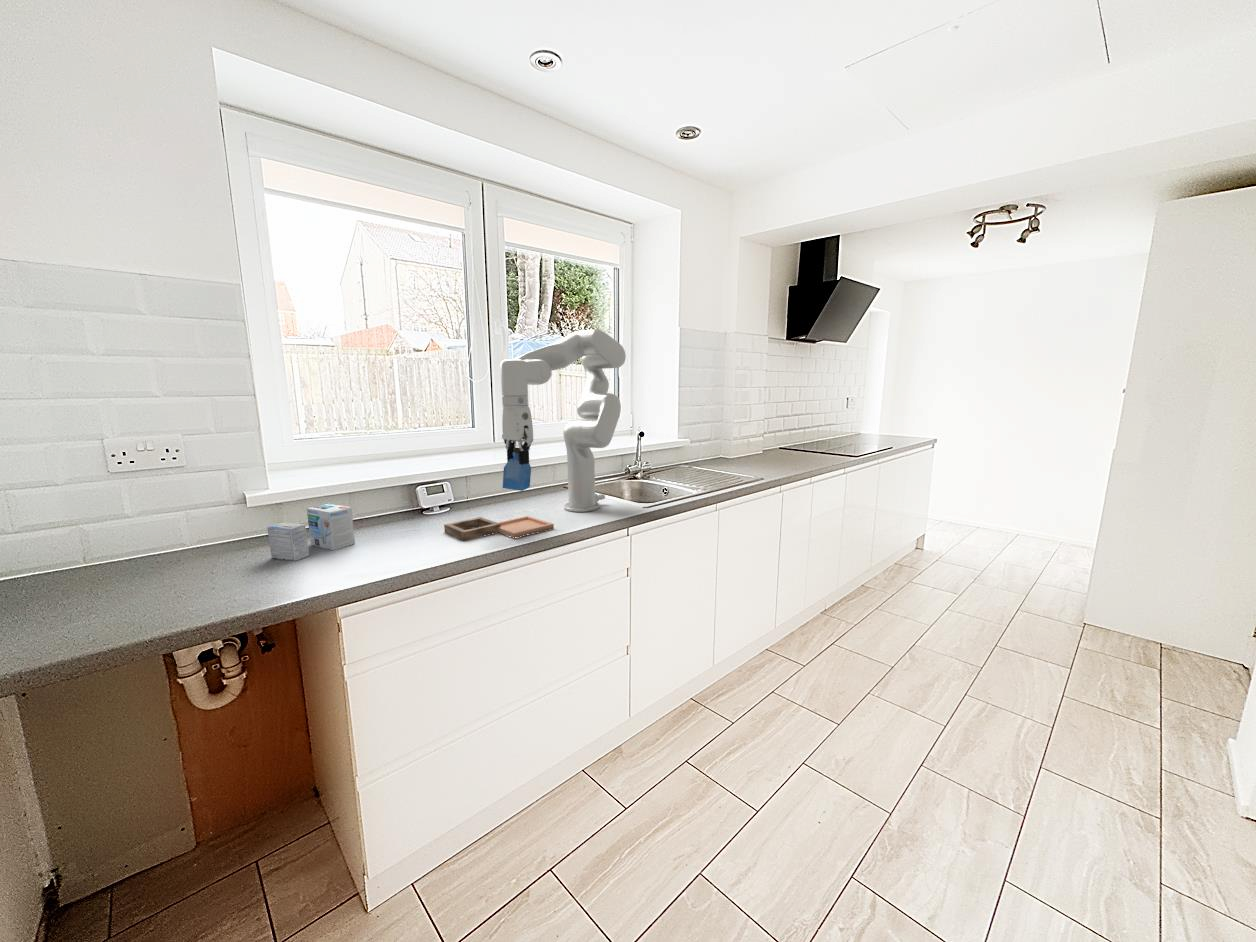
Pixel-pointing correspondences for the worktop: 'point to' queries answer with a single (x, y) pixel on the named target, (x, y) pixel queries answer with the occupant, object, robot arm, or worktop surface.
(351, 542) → the light bulb box
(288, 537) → the medicine box
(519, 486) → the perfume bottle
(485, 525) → the socket block
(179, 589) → the worktop surface
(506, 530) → the dish
